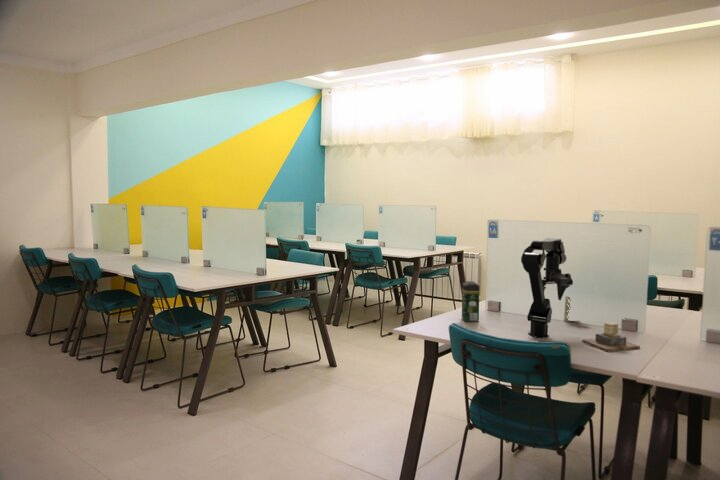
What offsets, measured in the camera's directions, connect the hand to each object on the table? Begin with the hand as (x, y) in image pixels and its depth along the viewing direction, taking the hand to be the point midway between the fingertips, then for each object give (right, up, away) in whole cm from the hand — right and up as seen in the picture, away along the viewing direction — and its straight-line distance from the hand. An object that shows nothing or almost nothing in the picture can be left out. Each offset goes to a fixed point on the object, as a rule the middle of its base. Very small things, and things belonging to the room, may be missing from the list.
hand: (551, 300), depth 243 cm
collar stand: (+16, -15, -24) cm, 33 cm away
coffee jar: (-33, -11, +18) cm, 39 cm away
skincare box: (+16, -12, +17) cm, 26 cm away
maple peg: (+16, -14, -24) cm, 32 cm away
